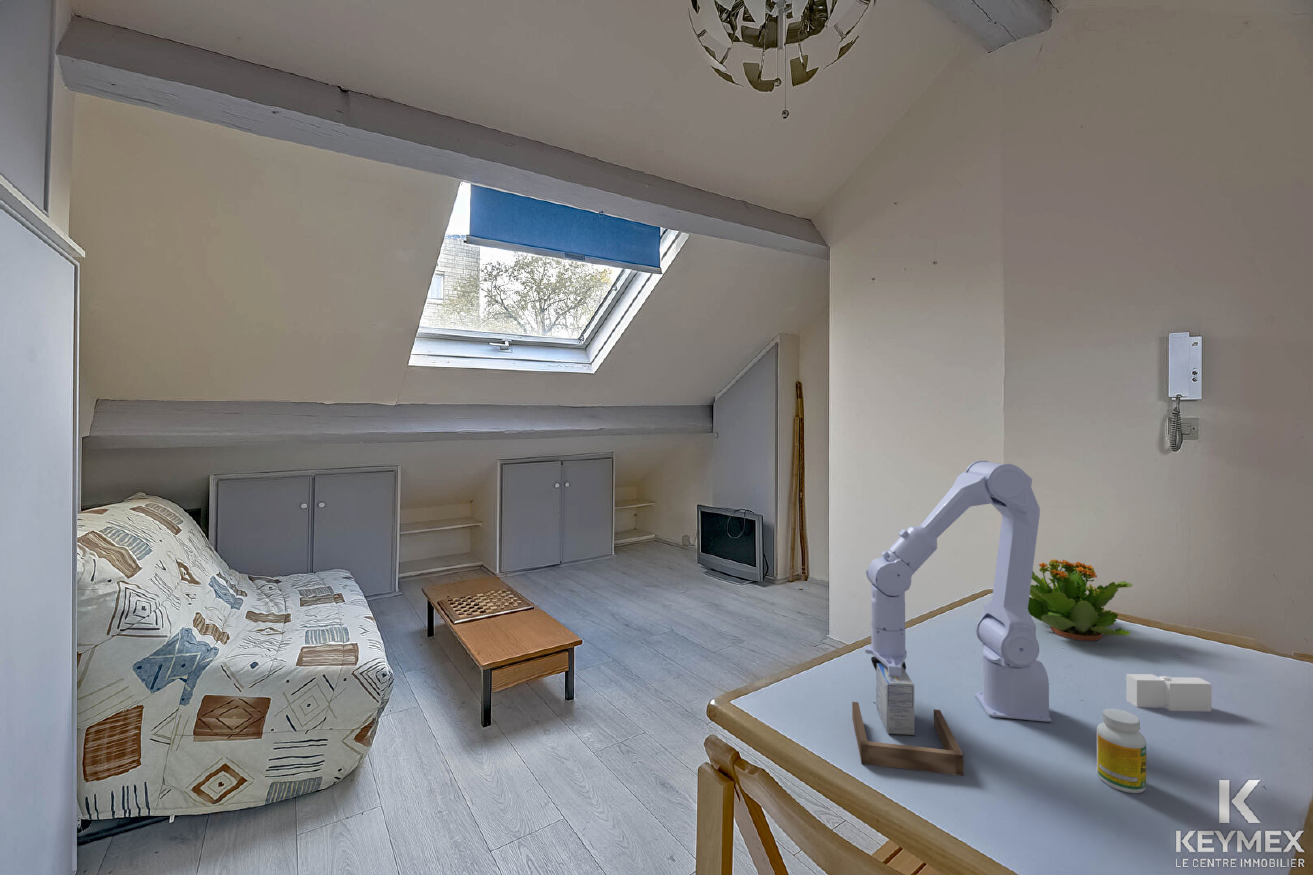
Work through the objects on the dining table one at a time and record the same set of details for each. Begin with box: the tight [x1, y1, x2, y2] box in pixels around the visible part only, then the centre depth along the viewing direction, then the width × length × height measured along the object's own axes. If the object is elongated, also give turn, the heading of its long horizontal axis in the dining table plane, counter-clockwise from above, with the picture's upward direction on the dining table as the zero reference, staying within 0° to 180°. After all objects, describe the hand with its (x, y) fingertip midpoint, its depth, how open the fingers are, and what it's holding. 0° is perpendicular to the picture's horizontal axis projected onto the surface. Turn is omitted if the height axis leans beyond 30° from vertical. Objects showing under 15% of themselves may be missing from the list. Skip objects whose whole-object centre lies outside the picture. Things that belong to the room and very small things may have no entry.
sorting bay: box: [851, 701, 965, 777], centre depth 88 cm, size 14×13×3 cm
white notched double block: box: [1125, 673, 1213, 712], centre depth 98 cm, size 15×11×6 cm
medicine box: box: [875, 663, 916, 736], centre depth 94 cm, size 8×4×9 cm, turn 171°
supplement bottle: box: [1096, 708, 1147, 794], centre depth 78 cm, size 5×5×10 cm
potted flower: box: [1028, 558, 1133, 642], centre depth 130 cm, size 25×24×18 cm
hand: (888, 699), depth 100 cm, fingers closed
